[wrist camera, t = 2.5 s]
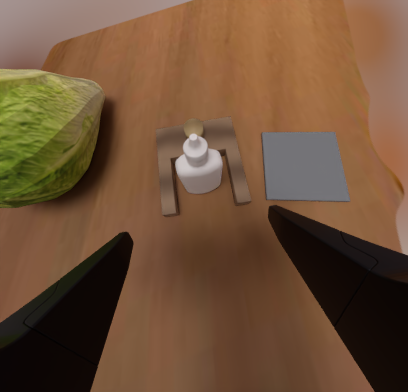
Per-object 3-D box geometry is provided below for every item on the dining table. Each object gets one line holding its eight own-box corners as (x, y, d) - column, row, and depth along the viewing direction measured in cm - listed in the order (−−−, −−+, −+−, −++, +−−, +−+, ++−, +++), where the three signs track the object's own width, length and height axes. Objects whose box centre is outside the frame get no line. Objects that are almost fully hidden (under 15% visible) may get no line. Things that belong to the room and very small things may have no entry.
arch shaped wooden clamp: (248, 203, 23) (255, 197, 19) (166, 216, 23) (157, 213, 19) (229, 124, 27) (231, 106, 23) (159, 136, 27) (151, 120, 23)
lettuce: (86, 115, 35) (147, 138, 34) (-39, 200, 22) (51, 241, 21) (30, 18, 22) (126, 50, 21) (-347, 89, 9) (-153, 181, 8)
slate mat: (347, 201, 22) (350, 201, 22) (266, 199, 23) (267, 199, 23) (333, 133, 25) (334, 132, 25) (261, 134, 26) (262, 132, 26)
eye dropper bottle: (190, 168, 25) (171, 110, 14) (222, 176, 24) (231, 122, 13) (182, 191, 24) (154, 151, 13) (215, 200, 23) (217, 167, 12)
